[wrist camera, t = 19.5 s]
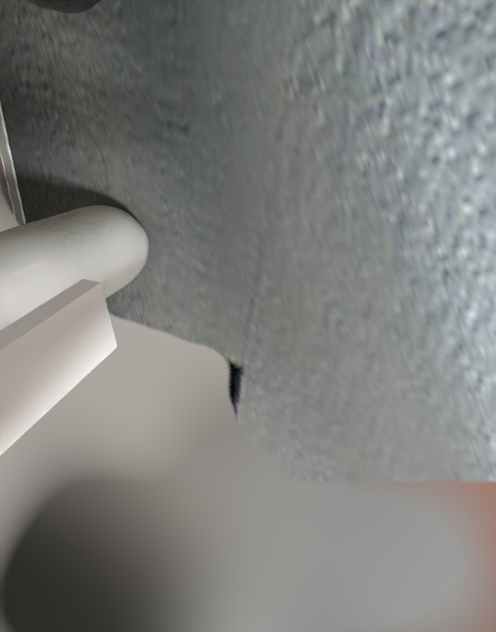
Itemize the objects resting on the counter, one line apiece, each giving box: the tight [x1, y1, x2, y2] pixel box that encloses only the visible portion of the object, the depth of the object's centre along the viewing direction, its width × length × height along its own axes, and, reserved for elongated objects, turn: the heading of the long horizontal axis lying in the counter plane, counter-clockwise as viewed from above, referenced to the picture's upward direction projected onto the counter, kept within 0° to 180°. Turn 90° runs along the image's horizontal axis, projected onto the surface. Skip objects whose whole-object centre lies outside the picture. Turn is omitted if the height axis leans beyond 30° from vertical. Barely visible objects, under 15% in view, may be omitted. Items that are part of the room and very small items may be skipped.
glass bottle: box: [0, 205, 149, 330], centre depth 37 cm, size 10×10×28 cm
